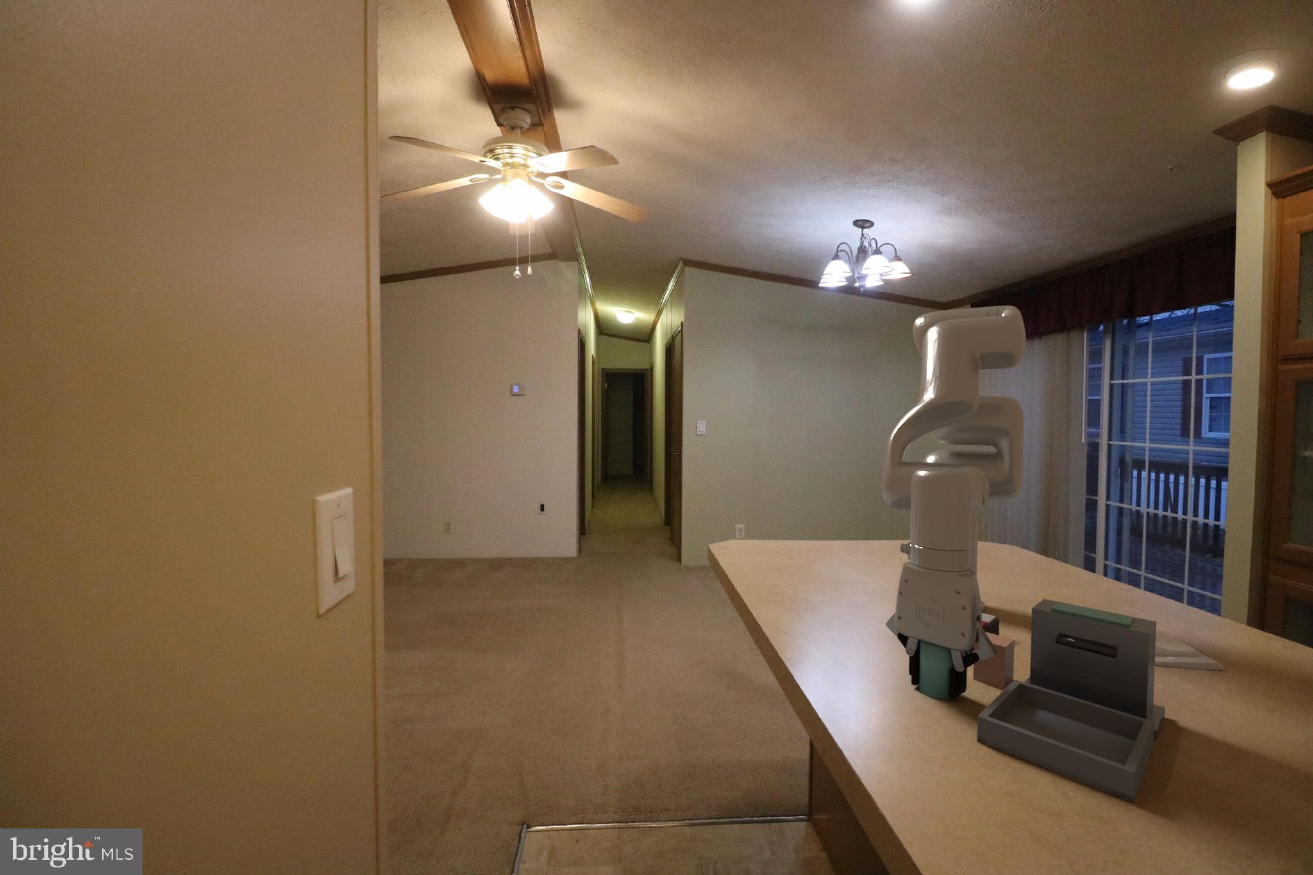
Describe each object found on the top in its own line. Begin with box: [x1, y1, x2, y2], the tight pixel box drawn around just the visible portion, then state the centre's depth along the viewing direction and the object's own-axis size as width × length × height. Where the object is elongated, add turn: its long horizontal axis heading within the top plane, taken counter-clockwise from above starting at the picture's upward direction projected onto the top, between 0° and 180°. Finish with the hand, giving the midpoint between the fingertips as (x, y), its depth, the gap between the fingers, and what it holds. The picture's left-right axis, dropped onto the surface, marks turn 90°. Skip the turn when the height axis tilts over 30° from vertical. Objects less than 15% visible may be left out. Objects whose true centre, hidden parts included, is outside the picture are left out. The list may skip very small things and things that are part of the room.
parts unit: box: [1024, 598, 1166, 742], centre depth 73 cm, size 14×8×12 cm, turn 42°
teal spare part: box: [918, 640, 953, 701], centre depth 77 cm, size 4×4×7 cm
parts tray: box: [976, 679, 1155, 804], centre depth 65 cm, size 14×14×3 cm
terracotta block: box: [972, 632, 1015, 690], centre depth 81 cm, size 4×4×6 cm
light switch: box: [1155, 635, 1224, 671], centre depth 91 cm, size 11×4×13 cm
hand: (936, 687), depth 77 cm, fingers closed on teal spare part, 4 cm apart
